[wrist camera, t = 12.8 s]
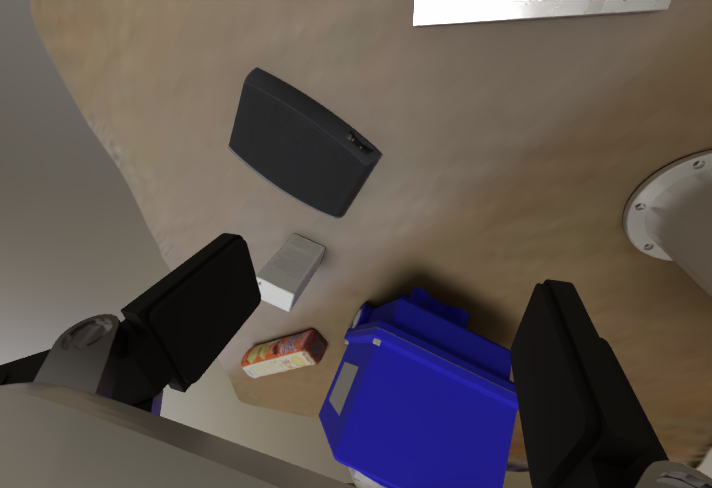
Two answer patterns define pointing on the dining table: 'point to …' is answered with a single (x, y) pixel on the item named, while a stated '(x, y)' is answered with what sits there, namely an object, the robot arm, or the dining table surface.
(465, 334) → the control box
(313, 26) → the dining table surface
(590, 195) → the dining table surface
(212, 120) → the dining table surface
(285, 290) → the skincare box
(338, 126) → the external hard drive
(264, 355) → the snack package
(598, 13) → the plate
